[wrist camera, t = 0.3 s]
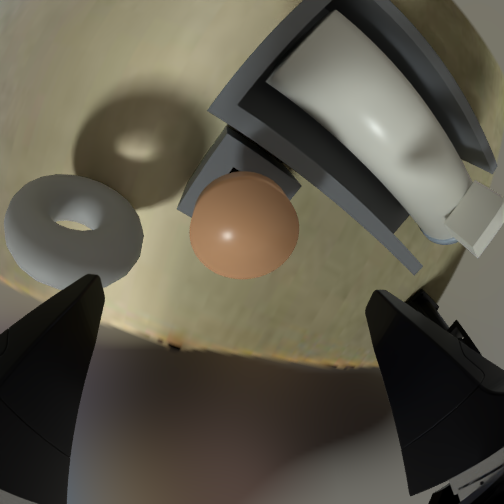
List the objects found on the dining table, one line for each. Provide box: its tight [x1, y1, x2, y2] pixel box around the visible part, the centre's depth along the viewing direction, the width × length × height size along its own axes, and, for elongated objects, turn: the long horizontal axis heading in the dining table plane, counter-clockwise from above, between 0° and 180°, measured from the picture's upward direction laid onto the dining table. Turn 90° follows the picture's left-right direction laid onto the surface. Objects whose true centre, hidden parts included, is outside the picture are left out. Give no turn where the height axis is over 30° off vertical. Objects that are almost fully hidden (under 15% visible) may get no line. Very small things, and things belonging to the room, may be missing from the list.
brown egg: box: [190, 171, 299, 279], centre depth 13 cm, size 4×4×6 cm
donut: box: [4, 174, 144, 290], centre depth 14 cm, size 10×4×10 cm, turn 59°
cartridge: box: [265, 10, 504, 258], centre depth 13 cm, size 17×6×9 cm, turn 54°
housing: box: [177, 0, 497, 275], centre depth 16 cm, size 18×18×6 cm
